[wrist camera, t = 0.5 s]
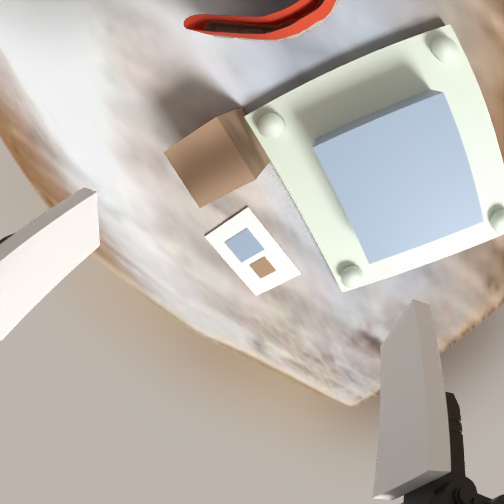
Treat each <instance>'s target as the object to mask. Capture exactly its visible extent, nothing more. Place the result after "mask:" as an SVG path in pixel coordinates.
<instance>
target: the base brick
mask: <svg viewBox="0 0 504 504" xmlns="http://www.w3.org/2000/svg"><path fill="white" fill-rule="evenodd" d="M312 148H313V150H314V152H315V154H316V156H317V158H318V159H319V161H320V163H321V165H322V167H323V169H324V171H325V173H326V175H327V177H328V178H329V180H330V182H331V184H332V186H333V188H334V190H335V192H336V194H337V196H338V198H339V200H340V202H341V204H342V206H343V208H344V211H345V213H346V215H347V217H348V219H349V221H350V223H351V225H352V227H353V230H354V232H355V234H356V236H357V238H358V240H359V243H360V245H361V247H362V249H363V251H364V254H365V256H366V258H367V261H368V263H369V264H371V263H374V262H377V261H380V260H383V259H386V258H388V257H391V256H394V255H397V254H400V253H402V252H405V251H408V250H411V249H413V248H416V247H419V246H422V245H424V244H427V243H430V242H432V241H435V240H438V239H440V238H443V237H445V236H448V235H451V234H453V233H456V232H458V231H461V230H464V229H466V228H469V227H471V226H474V225H476V224H479V223H481V222H484V220H483V215H482V211H481V206H480V202H479V198H478V194H477V190H476V186H475V182H474V178H473V175H472V171H471V168H470V164H469V161H468V158H467V155H466V151H465V148H464V145H463V142H462V139H461V136H460V134H459V131H458V128H457V125H456V123H455V120H454V117H453V115H452V112H451V110H450V107H449V105H448V102H447V100H446V97H445V95H444V93H443V92H440V91H436V90H431V89H430V90H428V91H425V92H423V93H420V94H417V95H415V96H412V97H410V98H407V99H405V100H402V101H400V102H397V103H395V104H393V105H390V106H388V107H385V108H383V109H381V110H378V111H376V112H373V113H371V114H369V115H367V116H364V117H362V118H360V119H357V120H355V121H353V122H351V123H348V124H346V125H344V126H342V127H339V128H337V129H335V130H333V131H331V132H328V133H326V134H324V135H322V136H320V137H318V138H316V140H315V142H314V145H313V147H312Z"/></svg>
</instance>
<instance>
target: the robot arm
mask: <svg viewBox="0 0 504 504" xmlns="http://www.w3.org/2000/svg"><path fill="white" fill-rule="evenodd" d="M99 246H100V240H99V224H98V200H97V192H96V191H93V190H90V189H87V188H83V189H81V190H80V191H78V192H76V193H75V194H73V195H71V196H70V197H68V198H67V199H65V200H63V201H62V202H60V203H59V204H57V205H56V206H54V207H53V208H51V209H49V210H48V211H47V212H45V213H43V214H42V215H41V216H39V217H38V218H36V219H35V220H33V221H32V222H30V223H29V224H28V225H26V226H25V227H23V228H22V229H20V230H19V231H18V232H16V233H14V234H11V235H9V236H7V237H5V238H3V239H1V240H0V341H2V340H3V339H4V337H5V336H6V335H7V334H8V333H9V332H10V331H11V330H12V329H13V328H14V327H15V326H16V325H17V323H18V322H20V320H21V319H22V318H23V317H24V316H25V315H26V314H27V313H28V312H29V311H30V310H31V309H32V308H33V307H34V306H35V305H36V304H37V303H38V302H39V301H40V300H41V299H42V298H43V297H44V296H45V295H46V294H47V293H48V292H49V291H51V289H53V288H54V287H55V286H56V285H57V284H58V283H59V282H60V281H61V280H62V279H63V278H64V277H65V276H66V275H67V274H69V273H70V271H72V270H73V269H74V268H75V267H76V266H77V265H78V264H80V263H81V262H82V261H83V260H84V259H85V258H86V257H87V256H88V255H90V254H91V253H92V252H93V251H94V250H95V249H96V248H98V247H99ZM380 351H381V388H380V420H379V437H378V452H377V462H376V473H375V482H374V490H373V498H377V499H389V500H393V499H396V498H398V497H401V496H403V495H404V502H403V503H401V504H504V495H500V496H498V497H496V498H494V499H490V498H487V497H485V496H482V495H480V494H478V493H477V490H476V487H475V485H474V483H473V482H472V481H471V480H470V479H469V478H467V477H466V476H465V465H464V464H465V463H464V447H463V436H462V434H461V433H462V426H461V423H460V421H461V416H460V408H459V405H458V403H457V400H456V398H455V396H454V394H452V393H448V392H445V387H444V380H443V373H442V367H441V360H440V355H439V349H438V344H437V338H436V333H435V328H434V324H433V319H432V314H431V310H430V306H429V305H428V304H425V303H422V302H419V301H416V300H412V302H411V303H410V305H409V306H408V308H407V309H406V311H405V312H404V314H403V315H402V317H401V318H400V320H399V321H398V323H397V324H396V325H395V327H394V328H393V330H392V331H391V333H390V334H389V335H388V337H387V338H386V339H385V341H384V342H383V344H382V345H381V346H380Z"/></svg>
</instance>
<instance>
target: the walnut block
mask: <svg viewBox="0 0 504 504" xmlns="http://www.w3.org/2000/svg"><path fill="white" fill-rule="evenodd" d="M246 115H247V113H246V112H245V110H244V108H243V107H240V108H237V109H235V110H232V111H229V112H227V113H224V114H222V115H219V116H217V117H215V118H214V119H212V120H210V121H209V122H207V123H206V124H204V125H203V126H201V127H200V128H198V129H197V130H195V131H194V132H192V133H191V134H189V135H188V136H186V137H185V138H183V139H182V140H181V141H179V142H178V143H176V144H175V145H173V146H172V147H171V148H169V149H168V150H166V151H165V152H164V154H165V155H166V157H167V158H168V160H169V162H170V163H171V165H172V166H173V168H174V169H175V171H176V172H177V174H178V175H179V177H180V178H181V180H182V182H183V183H184V185H185V186H186V188H187V189H188V191H189V192H190V194H191V195H192V197H193V198H194V200H195V201H196V203H197V204H198V206H199V208H201V207H203V206H205V205H207V204H208V203H210V202H212V201H214V200H216V199H218V198H220V197H222V196H224V195H226V194H228V193H229V192H231V191H233V190H235V189H237V188H239V187H241V186H243V185H245V184H247V183H249V182H251V181H253V180H255V179H256V178H257V177H258V175H259V174H260V173H261V172H262V170H263V169H264V168H265V167H266V165H267V164H268V163H269V162H270V159H269V157H268V155H267V154H266V152H265V150H264V149H263V147H262V145H261V144H260V142H259V140H258V139H257V137H256V135H255V134H254V132H253V130H252V129H251V127H250V126H249V124H248V122H247V121H246V119H245V117H244V116H246Z"/></svg>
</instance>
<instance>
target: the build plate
mask: <svg viewBox="0 0 504 504" xmlns="http://www.w3.org/2000/svg"><path fill="white" fill-rule="evenodd" d="M430 89H431V90H436V91H440V92H443V93H444V95H445V97H446V100H447V102H448V105H449V107H450V110H451V112H452V115H453V117H454V120H455V123H456V125H457V128H458V131H459V134H460V136H461V139H462V142H463V145H464V148H465V151H466V155H467V158H468V161H469V164H470V168H471V171H472V175H473V178H474V182H475V186H476V190H477V194H478V198H479V202H480V206H481V211H482V215H483V220H484V222H481V223H479V224H476V225H474V226H471V227H469V228H466V229H464V230H461V231H458V232H456V233H453V234H451V235H448V236H445V237H443V238H440V239H438V240H435V241H432V242H430V243H427V244H424V245H422V246H419V247H416V248H413V249H411V250H408V251H405V252H402V253H400V254H397V255H394V256H391V257H388V258H386V259H383V260H380V261H377V262H374V263H371V264H369V263H368V261H367V258H366V256H365V254H364V251H363V249H362V247H361V245H360V243H359V240H358V238H357V236H356V234H355V232H354V230H353V227H352V225H351V223H350V221H349V219H348V217H347V215H346V213H345V211H344V208H343V206H342V204H341V202H340V200H339V198H338V196H337V194H336V192H335V190H334V188H333V186H332V184H331V182H330V180H329V178H328V177H327V175H326V173H325V171H324V169H323V167H322V165H321V163H320V161H319V159H318V158H317V156H316V154H315V152H314V150H313V148H312V147H313V145H314V142H315V140H316V138H318V137H320V136H322V135H324V134H326V133H328V132H331V131H333V130H335V129H337V128H339V127H342V126H344V125H346V124H348V123H351V122H353V121H355V120H357V119H360V118H362V117H364V116H367V115H369V114H371V113H373V112H376V111H378V110H381V109H383V108H385V107H388V106H390V105H393V104H395V103H397V102H400V101H402V100H405V99H407V98H410V97H412V96H415V95H417V94H420V93H423V92H425V91H428V90H430ZM244 117H245V119H246V121H247V122H248V124H249V126H250V127H251V129H252V130H253V132H254V134H255V135H256V137H257V139H258V140H259V142H260V144H261V145H262V147H263V149H264V150H265V152H266V154H267V155H268V157H269V159H270V160H271V162H272V164H273V166H274V167H275V169H276V171H277V172H278V174H279V176H280V178H281V179H282V181H283V183H284V185H285V186H286V188H287V190H288V192H289V193H290V195H291V197H292V199H293V200H294V202H295V204H296V206H297V208H298V209H299V211H300V213H301V215H302V217H303V219H304V220H305V222H306V224H307V226H308V228H309V229H310V231H311V233H312V235H313V237H314V239H315V241H316V242H317V244H318V246H319V248H320V250H321V252H322V254H323V256H324V258H325V259H326V261H327V263H328V265H329V267H330V269H331V271H332V273H333V275H334V277H335V279H336V281H337V283H338V285H339V287H340V289H341V291H342V292H345V291H349V290H352V289H355V288H358V287H361V286H364V285H367V284H370V283H373V282H376V281H379V280H382V279H385V278H388V277H391V276H394V275H397V274H400V273H403V272H406V271H409V270H411V269H414V268H417V267H420V266H423V265H425V264H428V263H431V262H434V261H436V260H439V259H442V258H445V257H447V256H450V255H453V254H455V253H458V252H460V251H463V250H466V249H468V248H471V247H473V246H476V245H478V244H481V243H483V242H486V241H488V240H491V239H493V238H496V237H498V236H500V235H503V234H504V164H503V160H502V156H501V152H500V149H499V145H498V141H497V138H496V135H495V131H494V128H493V125H492V122H491V119H490V116H489V113H488V110H487V107H486V104H485V101H484V98H483V96H482V93H481V91H480V88H479V85H478V83H477V80H476V78H475V76H474V73H473V71H472V69H471V66H470V64H469V62H468V60H467V57H466V55H465V53H464V51H463V49H462V47H461V45H460V43H459V41H458V39H457V37H456V35H455V33H454V31H453V29H452V27H451V25H450V24H449V25H446V26H443V27H440V28H437V29H434V30H431V31H428V32H425V33H422V34H419V35H416V36H414V37H411V38H408V39H405V40H403V41H400V42H397V43H395V44H392V45H390V46H387V47H385V48H382V49H380V50H377V51H375V52H372V53H370V54H368V55H365V56H363V57H361V58H358V59H356V60H354V61H351V62H349V63H347V64H345V65H343V66H340V67H338V68H336V69H334V70H332V71H330V72H327V73H325V74H323V75H321V76H319V77H317V78H315V79H313V80H311V81H309V82H307V83H305V84H303V85H301V86H299V87H297V88H295V89H293V90H291V91H289V92H287V93H286V94H284V95H282V96H280V97H278V98H276V99H274V100H273V101H271V102H269V103H267V104H265V105H263V106H262V107H260V108H258V109H256V110H255V111H253V112H251V113H249V114H248V115H246V116H244Z"/></svg>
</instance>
